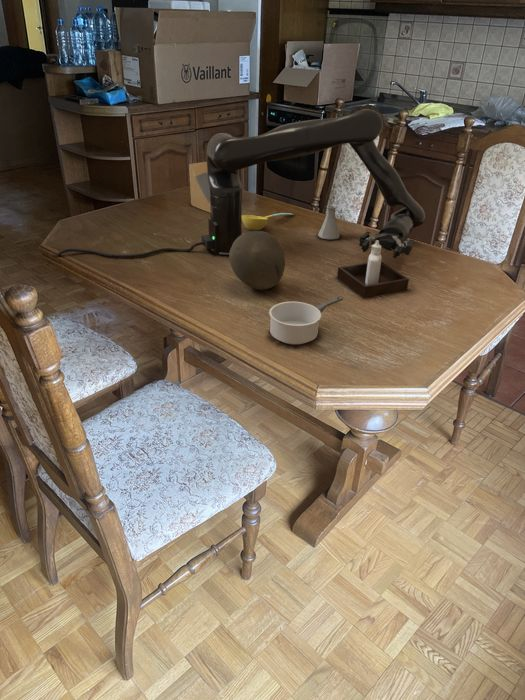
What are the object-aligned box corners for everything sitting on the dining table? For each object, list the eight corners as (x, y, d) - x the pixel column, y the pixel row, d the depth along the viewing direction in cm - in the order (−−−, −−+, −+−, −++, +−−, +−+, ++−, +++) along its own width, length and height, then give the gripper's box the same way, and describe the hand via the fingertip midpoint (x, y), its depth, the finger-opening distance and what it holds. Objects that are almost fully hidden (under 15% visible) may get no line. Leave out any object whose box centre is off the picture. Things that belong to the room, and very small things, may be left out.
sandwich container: (215, 215, 193) (214, 172, 186) (190, 205, 203) (188, 164, 195) (233, 210, 198) (233, 168, 191) (208, 201, 208) (207, 161, 200)
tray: (363, 298, 138) (365, 286, 137) (336, 278, 149) (338, 267, 147) (407, 290, 143) (409, 279, 142) (378, 271, 154) (379, 260, 152)
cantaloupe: (277, 275, 149) (279, 222, 142) (288, 297, 138) (291, 241, 130) (227, 278, 147) (226, 224, 139) (233, 300, 135) (233, 244, 127)
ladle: (234, 228, 179) (236, 210, 177) (280, 227, 200) (282, 211, 198) (255, 233, 174) (257, 215, 172) (299, 231, 195) (302, 215, 193)
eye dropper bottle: (358, 283, 146) (364, 241, 139) (371, 277, 149) (376, 236, 143) (371, 288, 143) (378, 245, 137) (384, 282, 146) (390, 240, 140)
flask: (340, 240, 174) (344, 210, 169) (318, 239, 174) (321, 209, 169) (338, 233, 181) (341, 203, 175) (317, 232, 181) (319, 202, 175)
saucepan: (356, 327, 125) (359, 306, 122) (290, 353, 115) (291, 330, 112) (322, 308, 133) (324, 288, 130) (258, 331, 122) (258, 309, 119)
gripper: (372, 217, 158) (355, 233, 146) (421, 225, 153) (408, 242, 141) (369, 241, 162) (352, 259, 150) (416, 250, 157) (403, 269, 145)
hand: (379, 251), depth 145 cm, fingers open, 8 cm apart
